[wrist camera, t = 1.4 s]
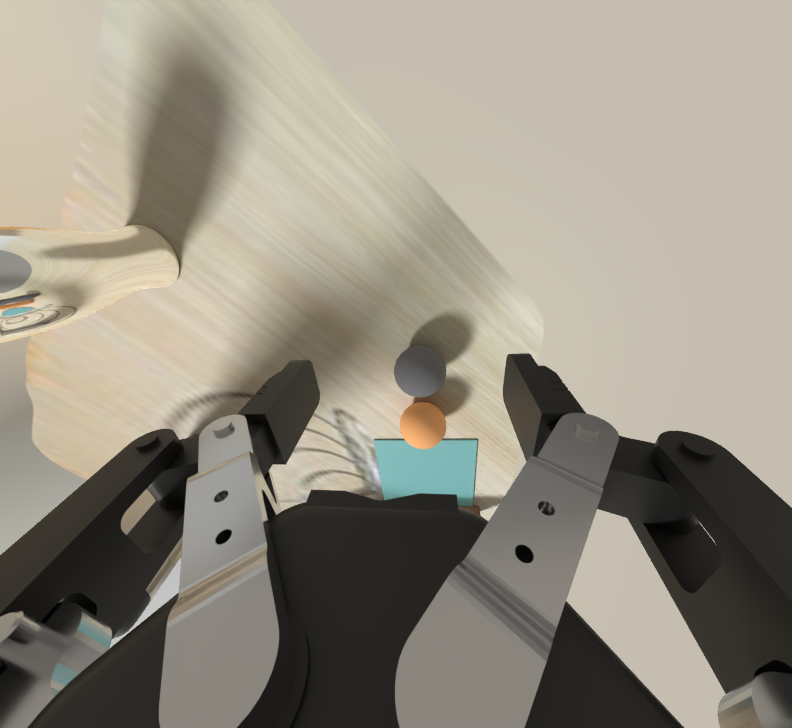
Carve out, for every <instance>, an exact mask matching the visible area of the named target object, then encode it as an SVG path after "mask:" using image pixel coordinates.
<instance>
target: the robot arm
mask: <svg viewBox="0 0 792 728" xmlns="http://www.w3.org/2000/svg"><path fill="white" fill-rule="evenodd" d="M503 398H504V403H505V406H506V408H507V411H508V414H509V416H510V419H511V422H512V424H513V427H514V430H515V432H516V435H517V438H518V440H519V443H520V446H521V448H522V451H523V454H524V456H525V459H526V461H527V462H526V464H525V465H524V467H523V469H522V470H521V472H520V473H519V475H518V476H517V478H516V479H515V481H514V483H513V484H512V486H511V487H510V489H509V490H508V492H507V494H506V495H505V497H504V498H503V500H502V502H501V503H500V505H499V506H498V508H497V509H496V511H495V513H494V514H493V516H492V517H491V519H490V520H489V521H487V520H486V519H484V518H483V517H481V516H479V515H477V514H475V513H473V512H471V511H469V510H466V509H463V508H460V507H458V502H457V494H426V493H418V494H413V495H408V496H404V497H399V498H394V499H389V500H384V501H378V500H374V499H370V498H367V497H364V496H360V495H357V494H354V493H350V492H347V491H331V490H311V492H310V494H309V497H308V499H307V502H305V503H301V504H298V505H295V506H293V507H290V508H288V509H286V510H284V511H282V512H281V508H280V504H279V500H278V497H277V493H276V489H275V486H274V482H273V478H272V475H271V472H270V470H269V469H270V468H271V466H272V464H286V463H287V461H288V459H289V458H290V456H291V454H292V452H293V450H294V448H295V446H296V445H297V443H298V441H299V439H300V437H301V435H302V434H303V432H304V430H305V428H306V426H307V424H308V422H309V421H310V419H311V417H312V415H313V413H314V411H315V410H316V408H317V406H318V404H319V399H320V392H319V388H318V384H317V380H316V377H315V373H314V369H313V366H312V363H311V362H310V361H309V360H293V361H290V362H289V363H288V364H287V365H286V366H285V368H284V369H283V370H282V371H281V372H279V373H277V374H276V375H274V376H273V377H271V378H270V379H268V380H267V382H266V383H265V384H264V385H263V386H262V388H260V389H259V390H258V392H257V393H256V395H254V396H253V397H252V398H251V399H250V400H249V402H248V403H247V404H246V405H245V406H244V407H243V408H242V409H241V411H240V412H239V413H238V414H237V415H228V416H225V417H222V418H219V419H217V420H215V421H213V422H212V423H210V424H209V425H207V426H206V427H205V428H204V429H203V430H202V432H201V433H200V435H199V436H193V437H190V438H186V439H182V440H179V439H178V437H177V435H176V434H175V432H174V431H173V430H171V429H160V430H156V431H153V432H150V433H147V434H145V435H143V436H141V437H139V438H137V439H136V440H134V441H133V442H131V443H130V444H129V445H128V446H126V447H125V448H124V449H123V450H122V451H121V452H120V453H118V454H117V455H116V456H115V457H114V458H113V459H111V460H110V461H109V462H108V463H107V464H106V465H104V466H103V467H102V468H101V469H100V470H99V471H98V472H96V473H95V474H94V475H93V476H92V477H91V478H89V479H88V480H87V481H86V482H85V483H84V484H82V485H81V486H80V487H79V488H78V489H77V490H76V491H74V492H73V493H72V494H71V495H70V496H69V497H67V498H66V499H65V500H64V501H63V502H62V503H60V504H59V505H58V506H57V507H56V508H55V509H54V510H52V511H51V512H50V513H49V514H48V515H47V516H45V518H43V519H42V520H41V521H40V522H39V523H37V524H36V525H35V526H34V527H33V528H32V529H30V530H29V531H28V532H27V533H26V534H25V535H23V536H22V537H21V538H20V539H19V540H18V541H17V542H15V543H14V544H13V545H12V546H11V547H10V548H8V549H7V550H6V551H5V552H4V553H3V554H2V555H0V728H684V727H683V726H682V725H681V724H680V723H679V722H678V721H677V719H676V718H675V717H674V716H673V715H672V714H671V713H670V712H669V711H668V710H667V709H666V708H665V707H664V705H662V703H661V702H660V701H659V700H658V699H657V698H656V697H655V696H654V695H653V694H652V693H651V692H650V691H649V689H648V688H647V687H646V686H645V685H644V684H643V683H642V682H641V681H640V680H639V679H638V678H637V677H636V676H635V674H634V673H633V672H632V671H631V670H630V669H629V668H628V667H627V666H626V665H625V664H624V663H623V661H622V660H621V659H620V658H619V657H618V656H617V655H616V654H615V653H614V652H613V651H612V650H611V649H610V648H609V646H608V645H607V644H606V643H605V642H604V641H603V640H602V639H601V638H600V637H599V636H598V635H597V634H596V632H595V631H594V630H593V629H592V628H591V627H590V626H589V625H588V624H587V623H586V622H585V621H584V620H583V619H582V617H581V616H579V614H578V613H577V612H576V611H575V610H574V609H573V608H572V607H571V606H570V605H569V604H568V602H566V599H567V596H568V593H569V590H570V587H571V584H572V581H573V578H574V575H575V572H576V569H577V566H578V563H579V560H580V558H581V555H582V552H583V549H584V545H585V543H586V540H587V537H588V533H589V531H590V528H591V525H592V522H593V519H594V516H595V513H596V510H597V509H600V510H603V511H606V512H610V513H613V514H616V515H620V516H623V517H626V518H628V520H629V522H630V523H631V525H632V527H633V529H634V531H635V532H636V534H637V536H638V538H639V539H640V541H641V543H642V545H643V547H644V548H645V550H646V552H647V554H648V556H649V557H650V559H651V561H652V563H653V565H654V566H655V568H656V570H657V572H658V573H659V575H660V577H661V579H662V580H663V582H664V584H665V586H666V588H667V590H668V591H669V593H670V595H671V597H672V598H673V600H674V602H675V604H676V606H677V607H678V609H679V611H680V613H681V615H682V616H683V618H684V620H685V621H686V623H687V625H688V627H689V629H690V631H691V632H692V634H693V636H694V638H695V640H696V641H697V643H698V645H699V647H700V648H701V650H702V652H703V654H704V656H705V657H706V659H707V661H708V663H709V664H710V666H711V668H712V670H713V672H714V673H715V675H716V677H717V679H718V681H719V682H720V684H721V686H722V688H723V690H724V691H725V693H726V695H724V696H723V697H722V699H721V700H720V703H719V705H718V719H719V725H720V728H792V508H791V507H790V506H789V505H788V504H787V503H786V502H784V501H783V500H782V499H781V498H780V497H779V496H778V495H777V494H776V493H774V492H773V491H772V490H771V489H770V488H769V487H768V486H767V485H766V484H764V483H763V482H762V481H761V480H760V479H759V478H758V477H757V476H756V475H754V474H753V473H752V472H751V471H750V470H749V469H748V468H747V467H746V466H745V465H743V464H742V463H741V462H740V461H739V460H738V459H737V458H735V457H734V456H733V455H732V454H731V453H730V452H729V451H728V450H726V449H725V448H723V447H722V446H720V445H718V444H717V443H715V442H713V441H711V440H709V439H707V438H704V437H702V436H699V435H695V434H692V433H688V432H682V431H667V432H664V433H662V434H660V436H659V437H658V439H657V441H656V443H655V444H654V443H650V442H645V441H640V440H635V439H630V438H626V437H622V436H619V434H618V432H617V431H616V429H615V428H614V427H613V426H612V425H611V424H609V423H608V422H606V421H605V420H603V419H600V418H598V417H596V416H593V415H590V414H586V412H585V411H584V410H583V409H582V407H581V406H580V404H579V403H578V402H577V400H576V399H575V398H574V396H573V395H572V394H571V392H570V391H568V388H567V387H566V386H565V384H564V383H562V380H561V379H560V378H559V376H558V375H557V373H555V372H554V371H552V370H551V369H549V368H547V367H546V366H538V365H537V364H536V362H535V361H534V359H533V358H532V356H531V355H530V354H529V353H528V354H508V356H507V360H506V368H505V376H504V385H503ZM699 522H700V523H701V524H702V525H703V527H704V528H705V529H706V531H707V532H708V533H709V534H710V536H711V537H712V538H713V540H714V541H715V543H716V544H715V543H714V541H713V540H712V539H711V538H710V537H709V535H708V534H707V532H706V531H705V530H704V529H703V527H702V526H701V525H700V523H699ZM181 556H182V557H181ZM180 557H181V572H180V586H179V593H178V594H176V595H175V596H174V597H173V598H172V599H170V600H169V601H168V602H167V603H165V604H164V605H163V606H162V607H161V608H159V609H158V610H157V611H156V612H154V613H153V614H152V615H151V616H149V617H148V618H147V619H146V620H144V621H143V622H142V623H141V624H140V625H138V626H137V627H136V628H134V629H133V630H132V631H131V632H130V633H128V634H127V635H126V636H125V637H123V638H122V639H121V640H120V641H119V642H117V643H116V644H115V645H114V646H112V647H111V648H110V649H109V647H110V644H111V640H112V639H113V638H116V637H119V636H121V635H123V634H125V633H126V632H127V631H128V630H129V629H130V628H131V627H132V626H133V625H134V624H135V622H136V621H137V620H138V618H139V617H140V616H141V614H142V613H143V611H144V610H145V608H146V607H147V605H148V604H149V602H150V601H151V600H152V598H153V597H154V595H155V594H156V592H157V591H158V590H159V588H160V587H161V585H162V584H163V582H164V581H165V579H166V578H167V577H168V575H169V574H170V572H171V570H172V569H173V568H174V566H175V565H176V563H177V562H178V560H179V559H180Z"/></svg>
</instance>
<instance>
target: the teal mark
mask: <svg viewBox="0 0 792 728" xmlns="http://www.w3.org/2000/svg"><path fill="white" fill-rule="evenodd" d="M374 444H375V450H376V456H377V462H378V468H379V474H380V479H381V485H382V491H383V497H384V500H389V499H394V498H399V497H404V496H408V495H413V494H418V493H426V494H457V502H458V506H473V494H474V479H475V465H476V451H477V439H451V440H441V441H440V443H438V444H437V445H436V446H434V447H432V448H429V449H418V448H415V447H413V446H411V445H410V444H408V443H407V442H406V441H405V440H374Z"/></svg>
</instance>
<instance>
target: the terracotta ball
mask: <svg viewBox="0 0 792 728" xmlns="http://www.w3.org/2000/svg"><path fill="white" fill-rule="evenodd" d="M400 430H401V434H402V436H403V438H404V439H405V441H406V442H407V443H408V444H410V445H411V446H413V447H415V448H418V449H429V448H432V447H434V446H436V445H437V444H438V443H440V441H441V440H442V439H443V437H444V435H445V432H446V421H445V417H444V415H443V413H442V412H441V411H440V409H439V408H437V407H436V406H435V405H433V404H431V403H427V402H418V403H415V404H412V405H411V406H409V407H408V408H407V409H406V410H405V411H404V413H403V414H402V417H401V420H400Z"/></svg>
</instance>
